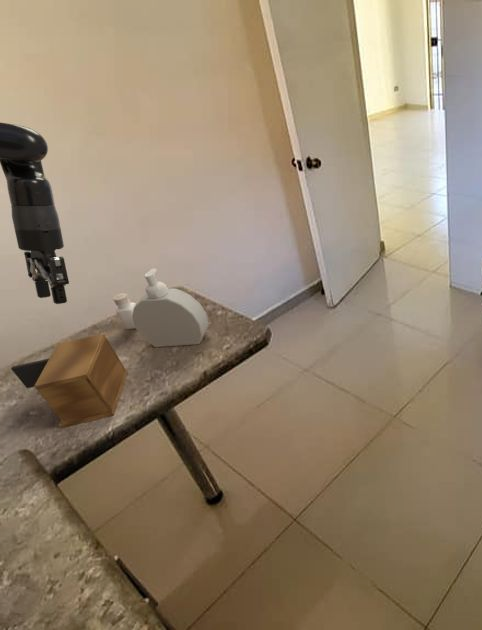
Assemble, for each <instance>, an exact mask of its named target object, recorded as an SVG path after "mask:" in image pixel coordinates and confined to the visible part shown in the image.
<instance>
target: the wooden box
mask: <svg viewBox="0 0 482 630" xmlns="http://www.w3.org/2000/svg"><path fill="white" fill-rule="evenodd" d="M49 358H50V359H49ZM49 358H48V359H49V360H48V362H47V364H46V366H45V367H44V369H43V371H42V373H41V375H40V376H39V378H38V380H37V382H36V384H35V385H34V387H33V388H34V389H36V392H37V393H39V395H40V396H41V397H42V399H44V401H45V402H46V403H47V405H48V406H49V408H51V410H52V411H53V412H54V413H55V414H56V417H58V418H59V420H60V421H59V423H58V426H59V427H60V429H64V428H68V427H72V426H75V425H76V426H77V425H80V424H84V423H88V422H91V421H92V422H93V421H95V420H101V419H104V418H109V417H111V416H115V414H116V410H117V407H118V404H119V402H120V397H121V394H122V392H123V388H124V385H125V382H126V378H127V377H128V371H127V370H126V368H125V366H124V364H123V363H122V361H121V360H120V358H119V356H118V354H117V353H116V351H115V350H114V348H113V346H112V345H111V343H110V342H109V340H108V338H107V336H106V335H105V334H104V333H101V334H96V335H92V336H91V335H90V336H86V337H81V338H77V339H76V338H75V339H72V340H66V341H62V342H58V343H57V344H56V346H55V348H54V349H53V351H52V353H51V355H50V356H49Z"/></svg>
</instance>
